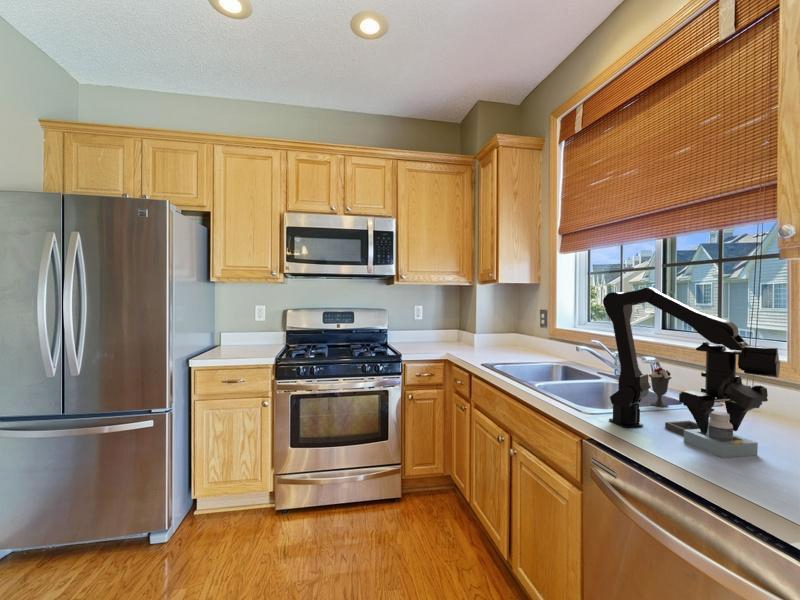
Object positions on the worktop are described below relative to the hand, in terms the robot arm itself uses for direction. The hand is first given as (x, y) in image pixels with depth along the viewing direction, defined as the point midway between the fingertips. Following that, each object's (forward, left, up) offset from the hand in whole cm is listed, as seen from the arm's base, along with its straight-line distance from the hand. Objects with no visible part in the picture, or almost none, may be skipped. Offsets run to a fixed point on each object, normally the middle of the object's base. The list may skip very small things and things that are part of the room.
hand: (719, 431), depth 93 cm
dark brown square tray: (+3, +10, -4) cm, 11 cm away
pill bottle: (0, 0, -4) cm, 4 cm away
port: (0, 0, -4) cm, 4 cm away
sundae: (+16, +33, -4) cm, 37 cm away
